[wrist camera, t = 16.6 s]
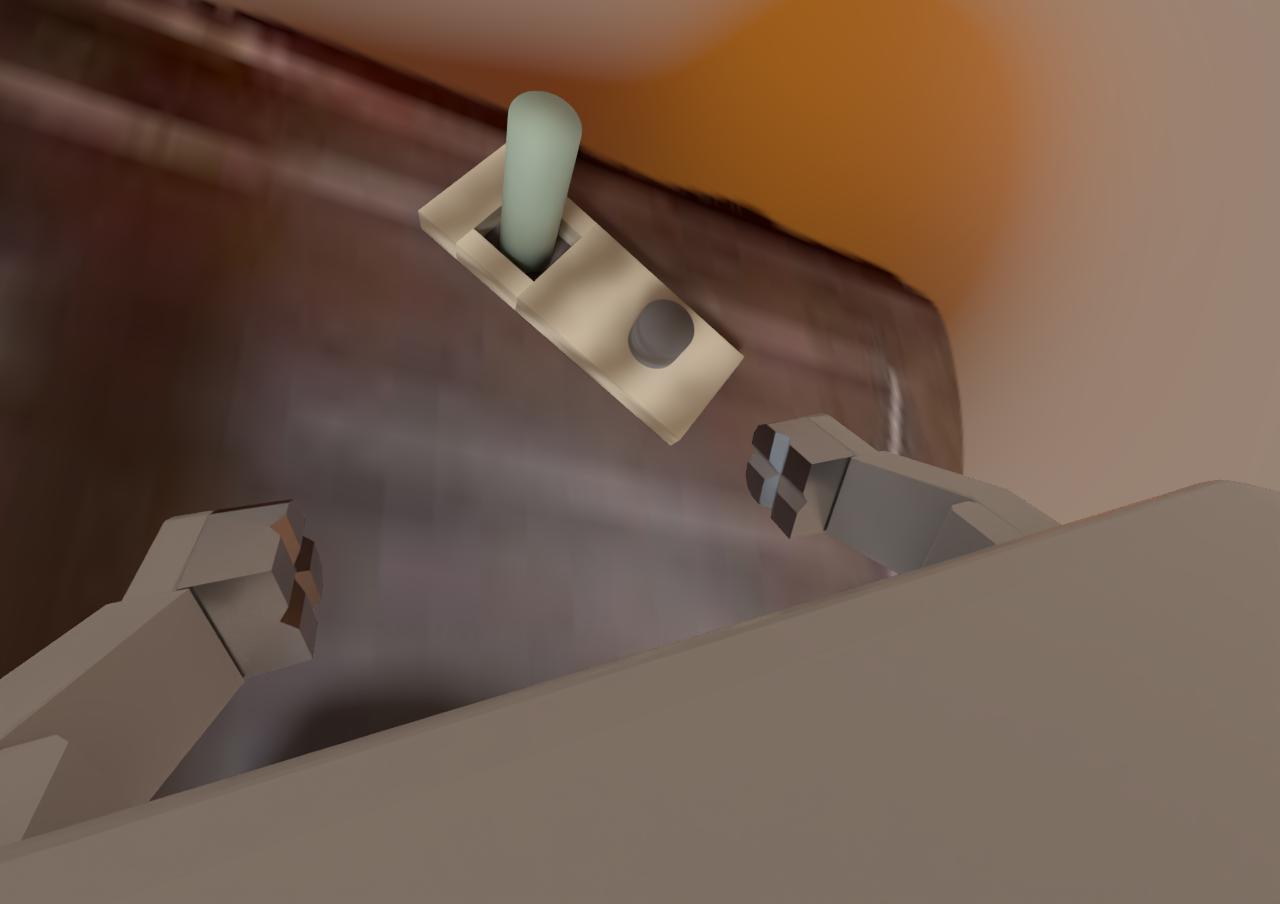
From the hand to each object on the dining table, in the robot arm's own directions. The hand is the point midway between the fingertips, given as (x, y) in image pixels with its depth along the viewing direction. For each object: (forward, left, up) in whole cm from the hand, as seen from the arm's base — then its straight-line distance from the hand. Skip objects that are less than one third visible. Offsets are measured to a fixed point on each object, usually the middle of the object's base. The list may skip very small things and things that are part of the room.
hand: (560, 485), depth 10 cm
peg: (-13, +18, -27) cm, 35 cm away
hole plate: (-7, +18, -27) cm, 33 cm away
